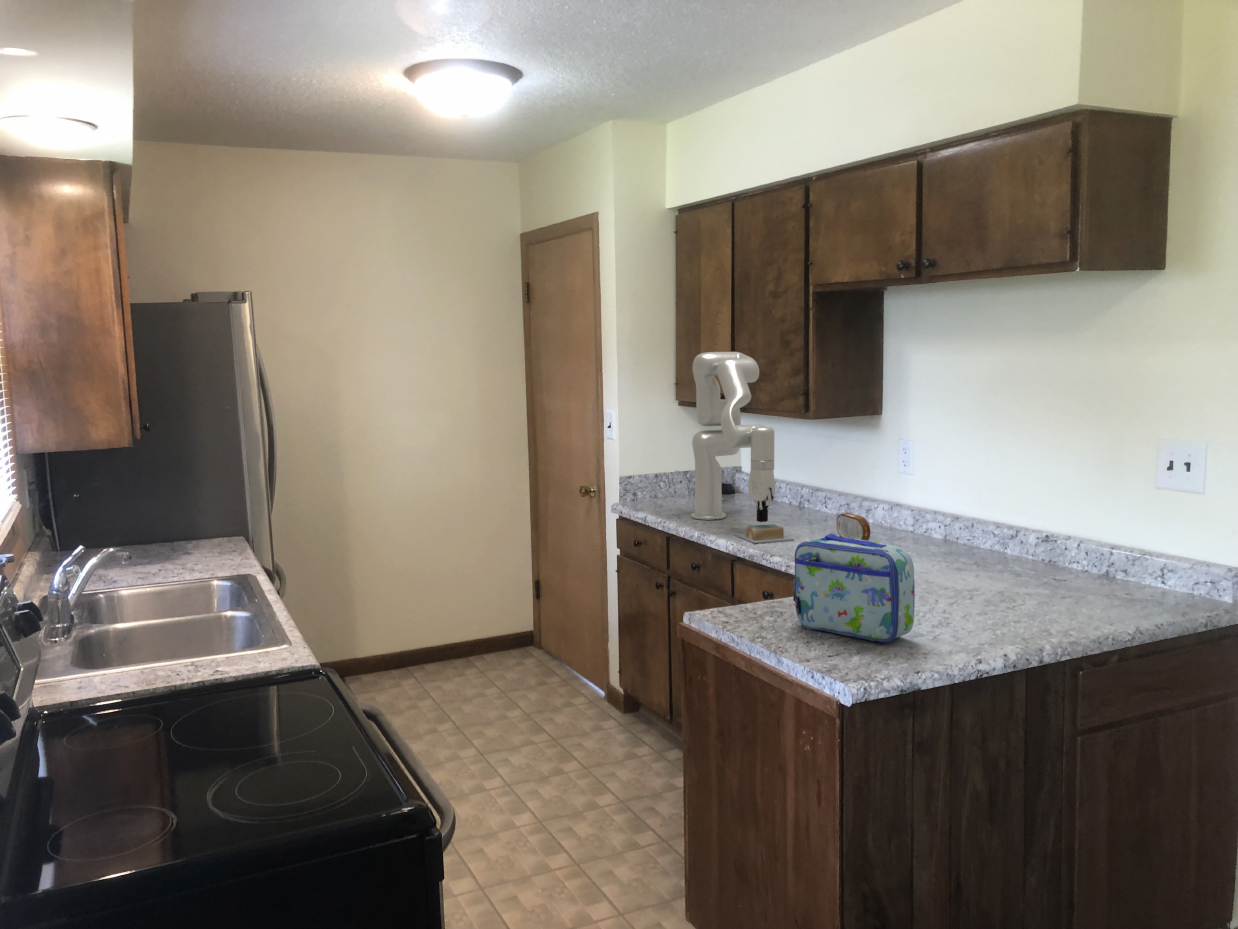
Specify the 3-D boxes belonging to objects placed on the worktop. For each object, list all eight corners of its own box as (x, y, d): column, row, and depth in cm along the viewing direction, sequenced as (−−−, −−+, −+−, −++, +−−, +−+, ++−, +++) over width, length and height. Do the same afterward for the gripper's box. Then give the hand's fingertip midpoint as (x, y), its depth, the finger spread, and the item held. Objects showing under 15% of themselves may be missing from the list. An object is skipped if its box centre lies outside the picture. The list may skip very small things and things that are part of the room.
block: (746, 526, 309) (755, 529, 303) (773, 523, 312) (783, 527, 306) (746, 536, 309) (755, 540, 303) (773, 534, 313) (783, 538, 306)
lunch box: (786, 626, 214) (787, 534, 212) (814, 616, 222) (815, 527, 219) (891, 651, 196) (894, 551, 193) (917, 639, 203) (920, 543, 201)
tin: (871, 544, 298) (871, 518, 297) (862, 545, 297) (863, 518, 296) (842, 535, 312) (843, 510, 311) (834, 536, 311) (834, 511, 309)
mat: (733, 535, 315) (733, 533, 315) (771, 531, 319) (771, 530, 319) (754, 544, 301) (754, 542, 301) (794, 540, 305) (794, 538, 305)
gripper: (741, 463, 314) (741, 518, 316) (762, 468, 300) (762, 526, 302) (762, 462, 316) (761, 516, 318) (784, 467, 302) (783, 524, 304)
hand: (762, 521), depth 310 cm, fingers closed
